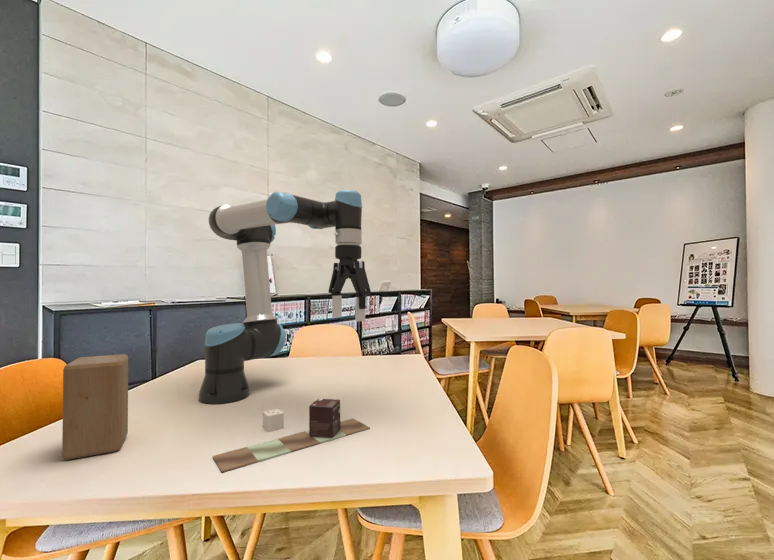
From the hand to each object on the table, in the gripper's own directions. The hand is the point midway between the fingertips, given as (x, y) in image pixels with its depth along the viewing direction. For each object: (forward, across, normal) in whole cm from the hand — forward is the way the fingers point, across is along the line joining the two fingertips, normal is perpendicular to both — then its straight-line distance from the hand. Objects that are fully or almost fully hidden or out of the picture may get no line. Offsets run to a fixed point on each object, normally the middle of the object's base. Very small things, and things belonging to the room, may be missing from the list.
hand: (348, 319), depth 103 cm
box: (+26, +10, -12) cm, 31 cm away
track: (+27, +10, -19) cm, 34 cm away
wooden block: (+27, -13, -57) cm, 64 cm away
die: (+27, -2, -21) cm, 34 cm away
